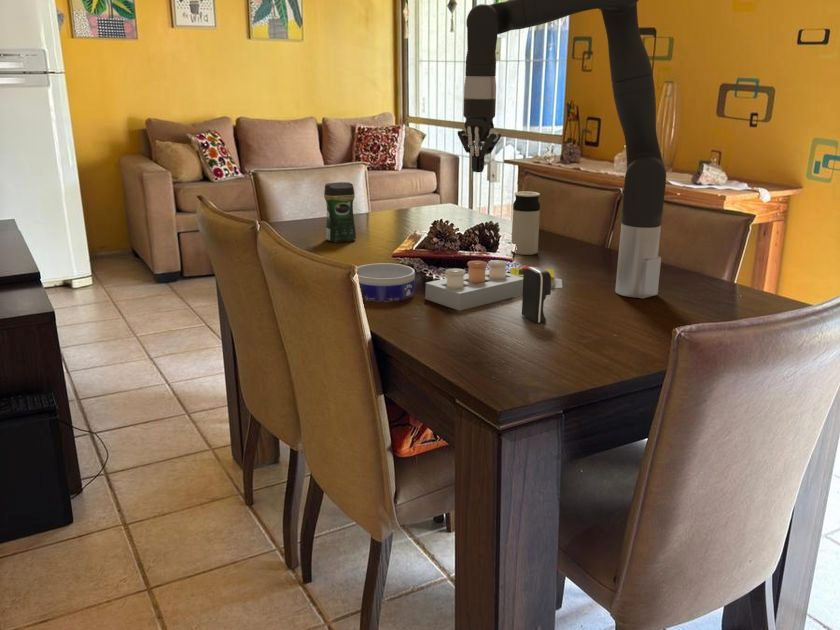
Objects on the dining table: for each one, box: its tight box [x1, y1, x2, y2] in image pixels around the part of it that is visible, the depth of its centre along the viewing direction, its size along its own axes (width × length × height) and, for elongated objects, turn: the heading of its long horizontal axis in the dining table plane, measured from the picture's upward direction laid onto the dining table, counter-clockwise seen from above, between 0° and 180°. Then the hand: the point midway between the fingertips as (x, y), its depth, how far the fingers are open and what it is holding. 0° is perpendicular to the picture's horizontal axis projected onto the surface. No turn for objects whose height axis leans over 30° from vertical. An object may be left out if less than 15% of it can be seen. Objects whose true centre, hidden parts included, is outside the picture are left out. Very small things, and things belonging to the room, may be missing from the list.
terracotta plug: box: [467, 260, 488, 284], centre depth 183 cm, size 5×5×7 cm
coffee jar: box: [323, 181, 357, 243], centre depth 243 cm, size 10×8×19 cm
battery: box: [521, 266, 552, 324], centre depth 166 cm, size 7×4×11 cm, turn 21°
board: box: [424, 269, 523, 311], centre depth 183 cm, size 12×22×4 cm, turn 130°
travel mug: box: [511, 190, 541, 256], centre depth 228 cm, size 8×8×18 cm
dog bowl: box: [356, 262, 416, 303], centre depth 185 cm, size 15×15×6 cm
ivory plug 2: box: [487, 259, 508, 280], centre depth 187 cm, size 5×5×7 cm
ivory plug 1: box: [445, 268, 466, 289], centre depth 179 cm, size 5×5×7 cm
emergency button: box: [509, 265, 563, 289], centre depth 197 cm, size 9×4×15 cm
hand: (477, 171), depth 183 cm, fingers closed
